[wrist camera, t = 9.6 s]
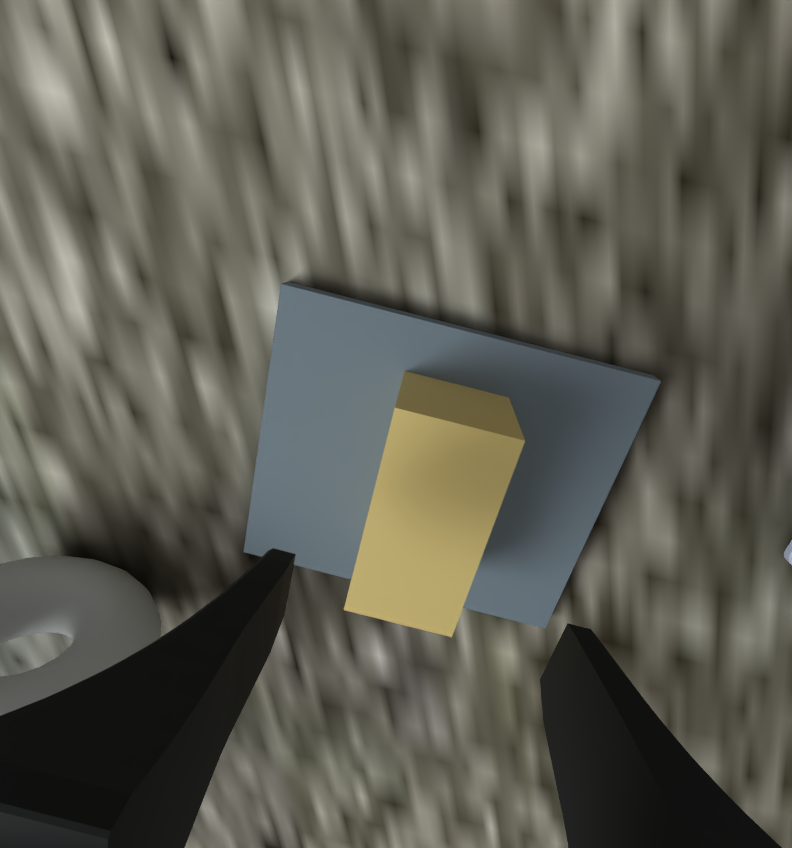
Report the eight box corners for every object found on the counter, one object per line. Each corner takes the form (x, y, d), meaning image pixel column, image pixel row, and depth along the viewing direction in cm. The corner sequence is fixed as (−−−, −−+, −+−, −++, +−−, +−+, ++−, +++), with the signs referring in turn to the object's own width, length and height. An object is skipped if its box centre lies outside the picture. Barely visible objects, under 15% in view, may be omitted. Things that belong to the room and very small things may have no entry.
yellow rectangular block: (450, 566, 21) (451, 637, 18) (361, 543, 21) (343, 610, 18) (508, 397, 18) (524, 440, 15) (404, 371, 18) (394, 407, 15)
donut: (203, 566, 24) (50, 784, 14) (199, 620, 25) (57, 851, 16) (2, 519, 24) (-279, 706, 15) (8, 575, 25) (-246, 780, 16)
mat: (652, 374, 18) (661, 381, 18) (541, 615, 23) (545, 628, 22) (287, 281, 18) (281, 284, 18) (250, 541, 23) (243, 552, 22)
